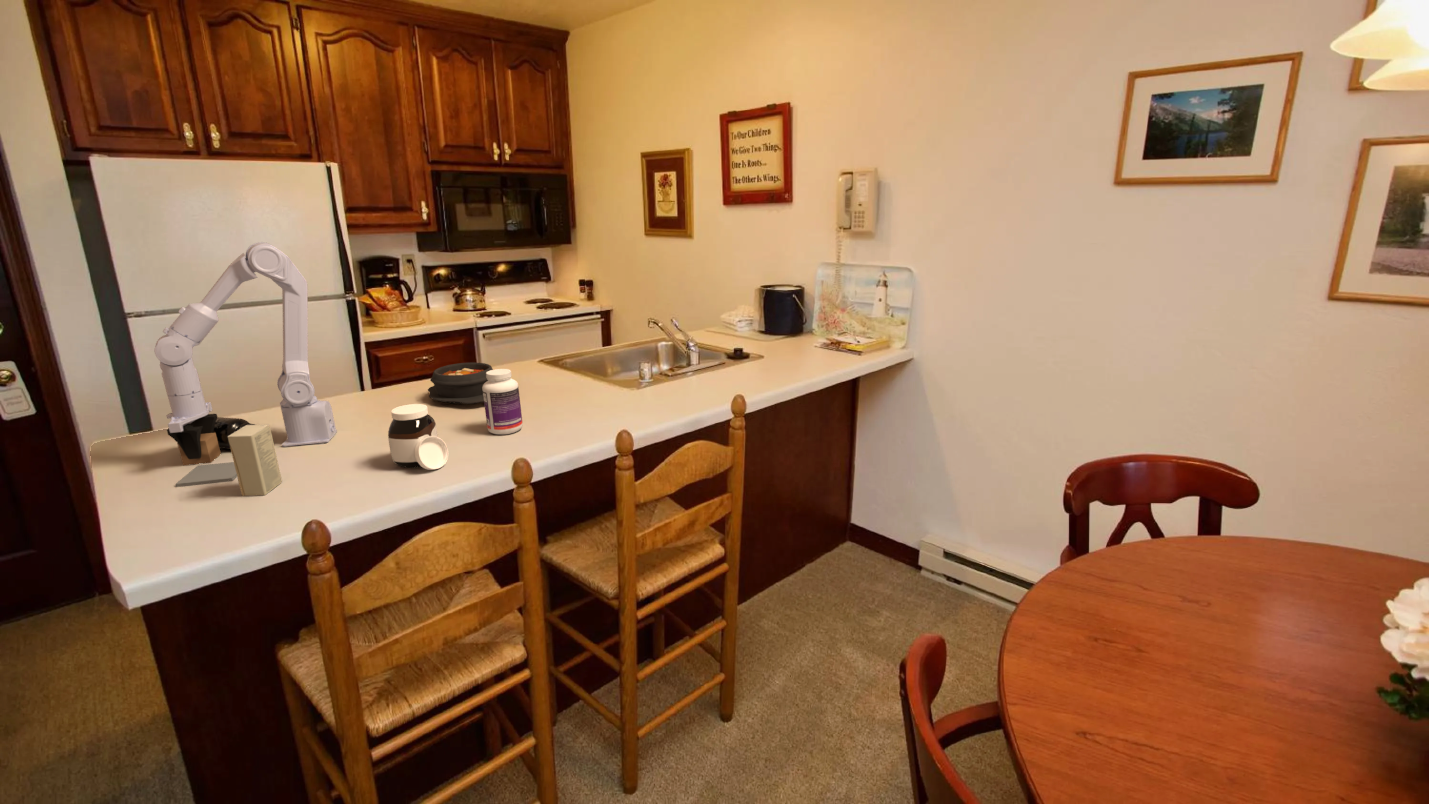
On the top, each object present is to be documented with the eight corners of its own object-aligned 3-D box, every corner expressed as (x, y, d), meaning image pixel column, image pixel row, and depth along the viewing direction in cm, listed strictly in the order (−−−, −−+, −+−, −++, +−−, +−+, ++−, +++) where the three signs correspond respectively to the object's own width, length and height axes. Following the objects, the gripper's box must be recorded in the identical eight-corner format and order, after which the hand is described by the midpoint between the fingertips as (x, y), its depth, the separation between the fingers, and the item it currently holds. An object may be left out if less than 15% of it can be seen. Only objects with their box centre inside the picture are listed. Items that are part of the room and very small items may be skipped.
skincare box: (260, 483, 129) (246, 424, 125) (283, 482, 129) (270, 423, 125) (240, 497, 123) (225, 436, 119) (265, 496, 123) (251, 435, 119)
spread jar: (410, 452, 143) (402, 401, 140) (462, 452, 143) (455, 401, 140) (382, 474, 132) (373, 419, 129) (438, 475, 132) (430, 420, 128)
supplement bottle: (194, 449, 145) (240, 453, 142) (191, 419, 144) (237, 422, 141) (223, 443, 151) (267, 446, 149) (220, 414, 150) (264, 416, 148)
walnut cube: (221, 454, 143) (215, 432, 142) (211, 462, 139) (205, 440, 137) (194, 456, 142) (188, 435, 141) (183, 465, 138) (177, 443, 136)
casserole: (521, 398, 181) (518, 369, 179) (459, 415, 168) (454, 383, 165) (473, 383, 197) (469, 355, 194) (412, 397, 183) (407, 368, 180)
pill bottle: (530, 427, 158) (524, 369, 154) (507, 438, 151) (500, 377, 147) (504, 422, 161) (497, 365, 157) (480, 433, 154) (472, 374, 150)
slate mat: (250, 462, 138) (250, 460, 138) (232, 480, 130) (231, 478, 130) (198, 468, 136) (197, 465, 136) (176, 486, 127) (175, 483, 127)
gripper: (179, 384, 142) (194, 443, 146) (143, 404, 128) (161, 468, 132) (216, 382, 143) (231, 440, 148) (185, 400, 130) (202, 464, 134)
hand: (200, 453), depth 140 cm, fingers closed on walnut cube, 5 cm apart
